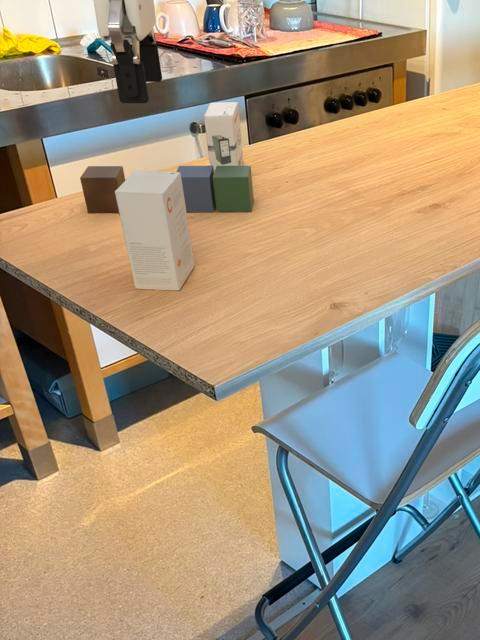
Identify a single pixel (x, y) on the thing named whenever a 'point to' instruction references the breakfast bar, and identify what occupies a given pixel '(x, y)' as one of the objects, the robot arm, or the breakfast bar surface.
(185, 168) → the block
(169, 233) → the small box
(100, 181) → the block
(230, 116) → the ink box
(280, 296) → the breakfast bar surface
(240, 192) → the block
